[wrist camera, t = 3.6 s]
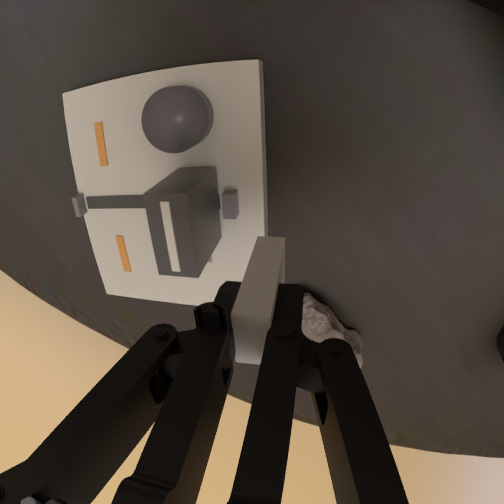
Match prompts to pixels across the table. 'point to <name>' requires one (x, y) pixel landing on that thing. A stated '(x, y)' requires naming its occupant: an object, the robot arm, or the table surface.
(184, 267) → the fader
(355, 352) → the stone
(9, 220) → the table surface
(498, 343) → the travel mug
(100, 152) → the console
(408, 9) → the table surface
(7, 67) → the table surface
